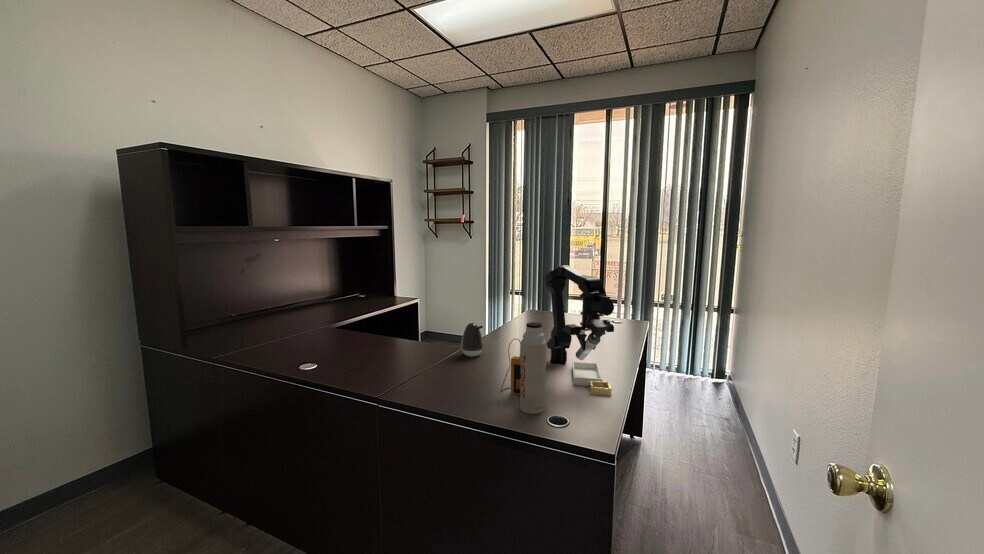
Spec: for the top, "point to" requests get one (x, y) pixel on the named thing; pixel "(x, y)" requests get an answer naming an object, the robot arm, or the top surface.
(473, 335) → the pump dispenser
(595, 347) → the robot arm
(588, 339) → the strut
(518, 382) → the multimeter
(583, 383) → the tray
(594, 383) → the socket collar
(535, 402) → the thermos bottle
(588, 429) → the top surface
